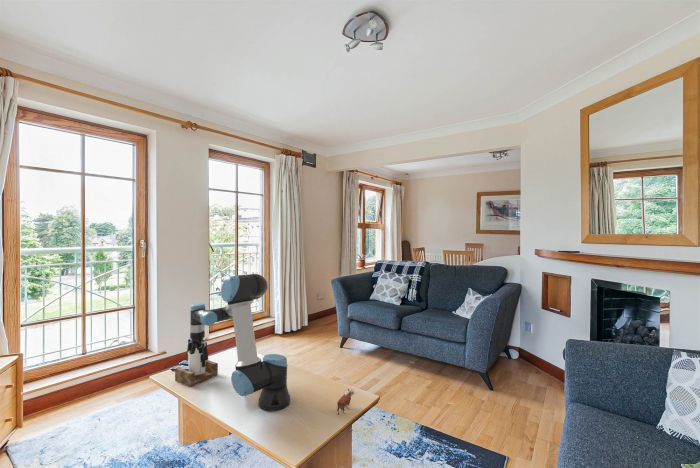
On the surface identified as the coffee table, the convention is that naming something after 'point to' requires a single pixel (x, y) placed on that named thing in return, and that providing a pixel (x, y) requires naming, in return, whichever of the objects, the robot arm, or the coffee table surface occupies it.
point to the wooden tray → (191, 379)
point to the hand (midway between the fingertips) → (196, 370)
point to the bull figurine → (345, 400)
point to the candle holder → (194, 362)
